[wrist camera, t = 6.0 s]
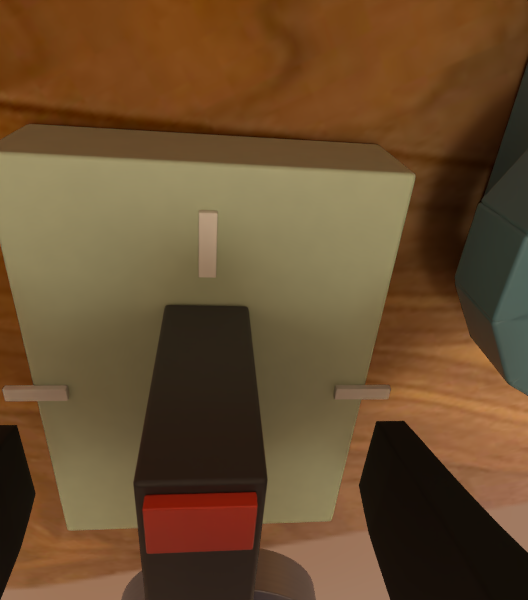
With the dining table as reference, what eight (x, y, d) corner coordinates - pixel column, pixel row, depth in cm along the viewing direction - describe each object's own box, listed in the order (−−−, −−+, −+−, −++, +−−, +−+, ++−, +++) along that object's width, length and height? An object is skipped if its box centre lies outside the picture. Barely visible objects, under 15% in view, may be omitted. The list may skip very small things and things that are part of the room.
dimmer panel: (333, 457, 17) (352, 526, 15) (68, 463, 16) (43, 537, 13) (403, 145, 11) (451, 177, 9) (-3, 120, 10) (-67, 150, 8)
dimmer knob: (237, 461, 13) (247, 668, 9) (170, 462, 12) (148, 675, 8) (248, 305, 10) (270, 496, 6) (164, 303, 10) (128, 501, 6)
